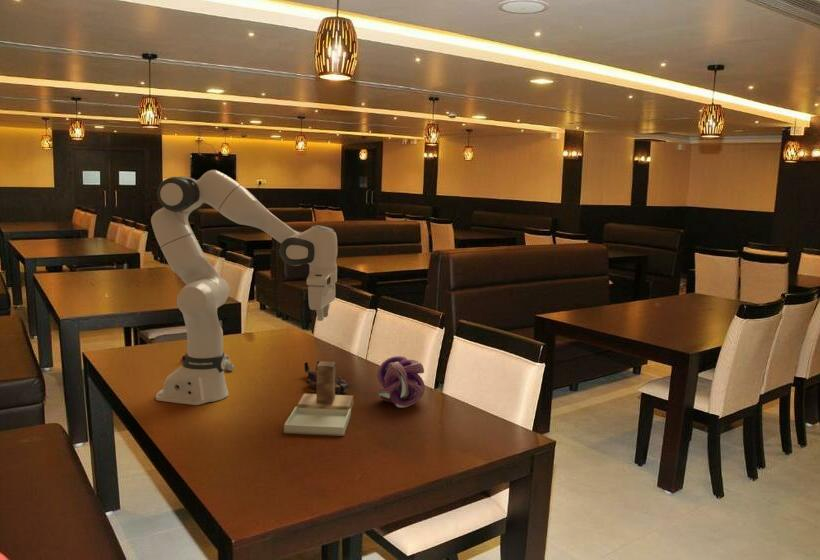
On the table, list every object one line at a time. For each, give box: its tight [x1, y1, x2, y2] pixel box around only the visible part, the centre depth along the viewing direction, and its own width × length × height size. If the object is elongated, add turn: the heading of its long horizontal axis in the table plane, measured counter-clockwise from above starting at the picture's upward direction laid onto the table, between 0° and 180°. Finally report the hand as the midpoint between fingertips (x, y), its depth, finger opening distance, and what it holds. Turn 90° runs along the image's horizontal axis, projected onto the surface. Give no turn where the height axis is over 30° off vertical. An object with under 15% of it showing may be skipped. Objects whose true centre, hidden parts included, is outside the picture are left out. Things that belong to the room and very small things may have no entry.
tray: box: [283, 405, 352, 437], centre depth 184 cm, size 17×16×2 cm
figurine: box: [304, 360, 350, 395], centre depth 217 cm, size 13×6×30 cm
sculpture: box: [376, 355, 426, 409], centre depth 205 cm, size 16×17×20 cm
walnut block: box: [316, 360, 337, 404], centre depth 195 cm, size 5×5×12 cm
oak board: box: [297, 393, 354, 411], centre depth 197 cm, size 16×10×3 cm, turn 88°
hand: (322, 318), depth 202 cm, fingers open, 4 cm apart
